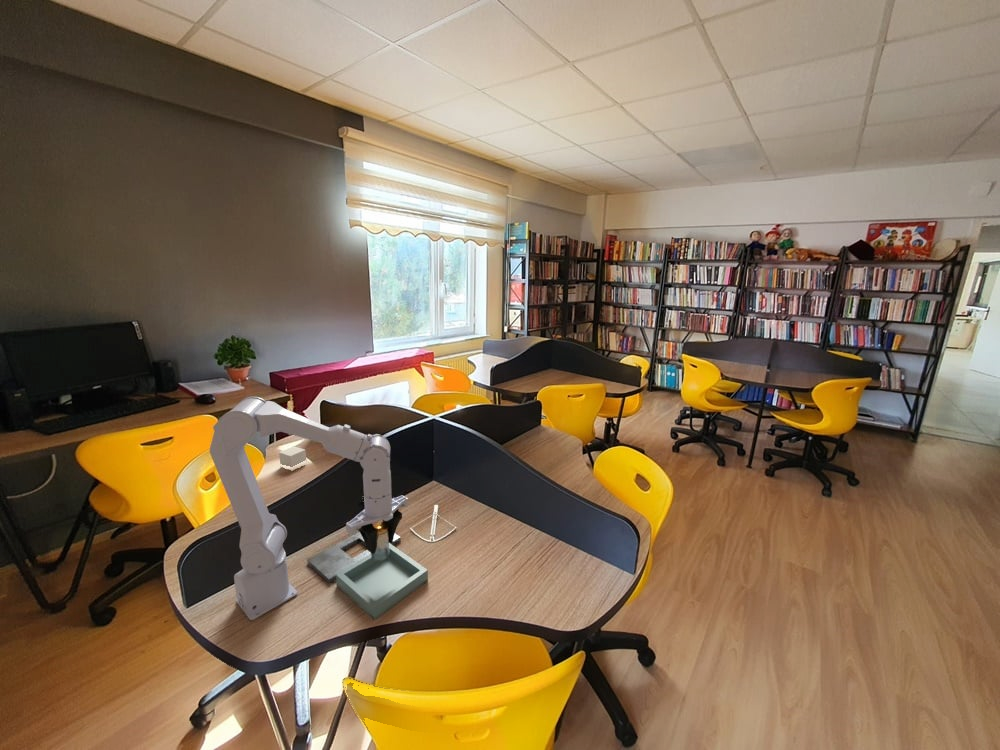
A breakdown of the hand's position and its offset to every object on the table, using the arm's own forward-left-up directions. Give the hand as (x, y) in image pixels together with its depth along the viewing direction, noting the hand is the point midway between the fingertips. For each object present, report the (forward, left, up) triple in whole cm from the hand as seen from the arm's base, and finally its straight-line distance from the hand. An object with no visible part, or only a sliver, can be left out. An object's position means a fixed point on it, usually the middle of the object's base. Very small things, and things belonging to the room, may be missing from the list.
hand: (380, 546), depth 91 cm
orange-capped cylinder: (0, 0, -2) cm, 2 cm away
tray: (0, -1, -9) cm, 9 cm away
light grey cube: (+13, +70, -10) cm, 72 cm away
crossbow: (+23, +7, -10) cm, 26 cm away
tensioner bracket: (+2, +13, -9) cm, 16 cm away
